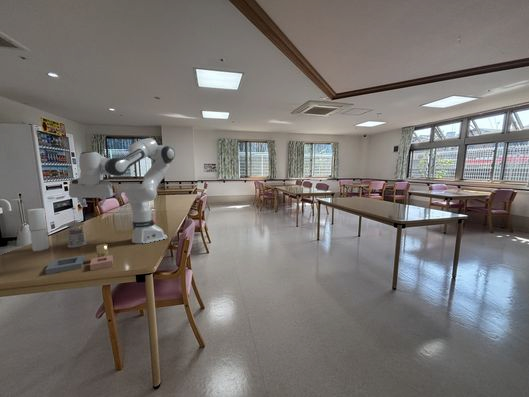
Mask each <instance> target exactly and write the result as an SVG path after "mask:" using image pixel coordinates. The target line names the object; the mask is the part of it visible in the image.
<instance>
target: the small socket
mask: <svg viewBox="0 0 529 397" xmlns="http://www.w3.org/2000/svg"><path fill="white" fill-rule="evenodd" d="M110 267H111V268H112V267H114V256H113V254H111V255H109V256H104V257H99V258H97V257H93V258H91V259H90V264H89V269H90V271H95V270H101V269H106V268H110Z"/></svg>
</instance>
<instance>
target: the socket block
mask: <svg viewBox="0 0 529 397" xmlns="http://www.w3.org/2000/svg"><path fill="white" fill-rule="evenodd" d="M84 263H85V254H82V255H77V256H69V257H65V258H64V257H63V258H58V259H52V260H51V261H50V263H49V264H48V265H47V267H46V268H45V270H44V271H45V275H52V274H56V273H62V272H67V271H73V270H74V271H75V270H80V269H82V268H83V266H84Z"/></svg>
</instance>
